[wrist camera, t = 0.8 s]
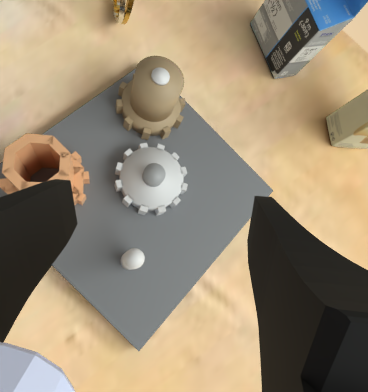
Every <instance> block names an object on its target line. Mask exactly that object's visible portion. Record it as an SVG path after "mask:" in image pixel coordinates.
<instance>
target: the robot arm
mask: <svg viewBox="0 0 368 392" xmlns="http://www.w3.org/2000/svg"><path fill="white" fill-rule="evenodd" d="M77 224H78V223H77V217H76V211H75V205H74V199H73V193H72V187H71V181H70V180H61V179H54V180H49V181H46V182H42V183H39V184H36V185H33V186H30V187H28V188H25V189H22V190H19V191H16V192H14V193H11V194H8V195H5V196H2V197H0V392H75V390H74V388H73V386H72V384H71V383H70V381H69V380H68V378H67V377H66V375H65V373H64V372H63V370H62V369H61V368H60V367H58V366H57V365H55V364H54V363H52V362H51V361H49V360H48V359H46V358H45V357H43V356H42V355H40V354H39V353H37V352H34V351H31V350H28V349H25V348H21V347H18V346H15V345H11V344H8V343H3V342H4V340H5V338H6V337H7V335H8V333H9V331H10V329H11V327H12V325H13V324H14V322H15V320H16V318H17V316H18V315H19V313H20V311H21V310H22V308H23V306H24V304H25V303H26V301H27V299H28V298H29V296H30V295H31V293H32V292H33V290H34V289H35V287H36V286H37V284H38V283H39V282H40V280H41V279H42V278H43V276H44V275H45V274H46V272H47V271H48V270H49V268H50V267H51V266H52V264H53V263H54V262H55V260H56V259H57V257H58V256H59V255H60V253H61V252H62V251H63V249H64V248H65V246H66V245H67V243H68V242H69V240H70V238H71V236H72V234H73V232H74V230H75V228H76V226H77ZM248 264H249V270H250V276H251V282H252V288H253V293H254V299H255V305H256V311H257V318H258V326H259V341H260V358H261V377H262V392H368V270H366V269H364V268H362V267H361V266H359V265H357V264H355V263H353V262H352V261H350V260H348V259H347V258H345V257H343V256H342V255H340V254H339V253H337V252H336V251H334V250H333V249H331V248H330V247H328V246H327V245H325V244H324V243H323V242H321V241H320V240H319V239H317V238H316V237H315V236H314V235H312V234H311V233H310V232H309V231H307V230H306V229H305V228H304V227H303V226H302V225H300V224H299V223H298V222H297V221H296V220H295V219H294V218H293V217H292V216H291V215H290V214H289V213H288V212H287V211H285V210H284V209H283V208H282V207H281V206H280V205H279V204H278V203H277V202H276V201H275V200H274V199H273V198H272V197H265V196H255V197H254V203H253V210H252V216H251V222H250V228H249V234H248Z"/></svg>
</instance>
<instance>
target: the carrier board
mask: <svg viewBox="0 0 368 392" xmlns="http://www.w3.org/2000/svg"><path fill="white" fill-rule="evenodd" d="M183 87H184V77H183V74H182V72H181V70H180V68H179V67H178V66H177V65H176V64H175V63H174V62H172V61H171V60H169V59H167V58H164V57H161V56H150V57H147V58H144V59H143V60H142V61H140V62H139V64H138V65H137V67H136V69H134V70H133V71H132V72H130V73H129V74H127V75H126V76H124V77H123V78H122V79H120V80H119V81H117V82H116V83H114V84H113V85H112V86H110V87H109V88H107V89H106V90H104V91H103V92H102V93H100V94H99V95H97V96H96V97H94V98H93V99H92V100H90V101H89V102H87V103H86V104H85V105H83V106H82V107H80V108H79V109H77V110H76V111H75V112H73V113H72V114H70V115H69V116H67V117H66V118H65V119H63V120H62V121H60V122H59V123H57V124H56V125H55V126H53V127H52V128H50V129H49V130H47V131H46V132H45V133H43V134H42V135H52V136H54V137H55V138H56V139H57V140H58V141H59V142H60V143H61V144H62V145H63V146H64V147H65V148H66V149H67V150H68V151H69V152H70V153H71V154H72V153H74V152H75V151H76V152H77V153H78V154H79V155H80V156H81V160H82V163H81V165H82V166H83V167H84V172H85V171H88V172H89V180H90V184H84V192H83V194H85V195H86V200H85V202H84V204H83V205H81V204H79V203H77V204H76V205H75V211H76V217H77V223H78V224H77V226H76V228H75V230H74V232H73V234H72V236H71V238H70V240H69V242H68V243H67V245H66V246H65V248H64V249H63V251H62V252H61V253H60V255H59V256H58V257H57V259H56V260H55V262H54V263H53V264H52V266H53V267H54V268H55V269H56V270H57V271H58V272H59V273H60V274H61V275H62V276H63V277H64V278H65V279H66V280H67V281H68V282H69V283H70V284H71V285H72V286H74V287H75V288H76V289H77V290H78V291H79V292H80V293H81V294H82V295H83V296H84V297H85V298H86V299H87V300H88V301H89V302H90V303H91V304H92V305H93V306H94V307H95V308H96V309H97V310H98V311H99V312H100V313H101V314H102V315H103V316H104V317H105V318H106V319H107V320H108V321H109V322H110V323H111V324H112V325H113V326H114V327H115V328H116V329H117V330H118V331H119V332H120V333H121V334H122V335H123V336H124V337H125V338H126V339H127V340H128V341H129V342H130V343H131V344H132V345H133V346H134V347H135V348H136V349H137V350H138V351H140V349H141V348H142V347H143V346H144V345H145V343H146V342H147V341H148V340H149V339H150V337H151V336H152V335H153V334H154V333H155V331H156V330H157V329H158V328H159V327H160V325H161V324H162V323H163V322H164V321H165V319H166V318H167V317H168V316H169V315H170V314H171V312H172V311H173V310H174V309H175V308H176V306H177V305H178V304H179V303H180V302H181V300H182V299H183V298H184V297H185V296H186V294H187V293H188V292H189V291H190V290H191V288H192V287H193V286H194V285H195V284H196V282H197V281H198V280H199V279H200V278H201V276H202V275H203V274H204V273H205V272H206V270H207V269H208V268H209V267H210V266H211V264H212V263H213V262H214V261H215V260H216V258H217V257H218V256H219V255H220V254H221V253H222V251H223V250H224V249H225V248H226V247H227V245H228V244H229V243H230V242H231V241H232V239H233V238H234V237H235V236H236V235H237V233H238V232H239V231H240V230H241V229H242V227H243V226H244V225H245V224H246V223H247V221H248V220H249V219H250V218H251V216H252V210H253V203H254V197H255V196H265V197H268V196H269V195H270V194H271V193H272V192H273V190H272V189H271V188H270V187H269V186H268V185H267V184H266V183H265V182H264V181H263V180H262V179H261V178H260V177H259V176H258V174H257V173H256V172H255V171H254V170H253V169H252V168H251V167H250V166H249V165H248V164H247V163H246V162H245V161H244V160H243V159H242V158H241V157H240V156H239V155H238V154H237V153H236V152H235V151H234V150H233V149H232V148H231V147H230V146H229V145H228V144H227V143H226V142H225V141H224V140H223V139H222V138H221V137H220V136H219V135H218V134H217V133H216V132H215V131H214V130H213V129H212V128H211V127H210V126H209V125H208V124H207V123H206V122H205V120H204V119H203V118H202V117H201V116H200V115H199V114H198V113H197V112H196V111H195V110H194V109H193V108H192V107H191V106H190V105H189V104H188V103H187V102H186V101H185V99H184V98H182V97H181V96H180V94H181V92H182V89H183ZM2 167H3V162H2V163H0V179H4V178H6V177H5V176H4V174H3V173H2ZM58 172H59V170H58V169H57V168H41V169H40V170H39V171H37V172H36V173H35V174H33V175H32V176H31V180H30V182H46V181H48V180H49V179H50V178H52V177H53V176H54V175H55V174H57V173H58ZM5 195H8V194H7V193H6V192H4V191H3V190H2V189H1V188H0V197H2V196H5Z"/></svg>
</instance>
